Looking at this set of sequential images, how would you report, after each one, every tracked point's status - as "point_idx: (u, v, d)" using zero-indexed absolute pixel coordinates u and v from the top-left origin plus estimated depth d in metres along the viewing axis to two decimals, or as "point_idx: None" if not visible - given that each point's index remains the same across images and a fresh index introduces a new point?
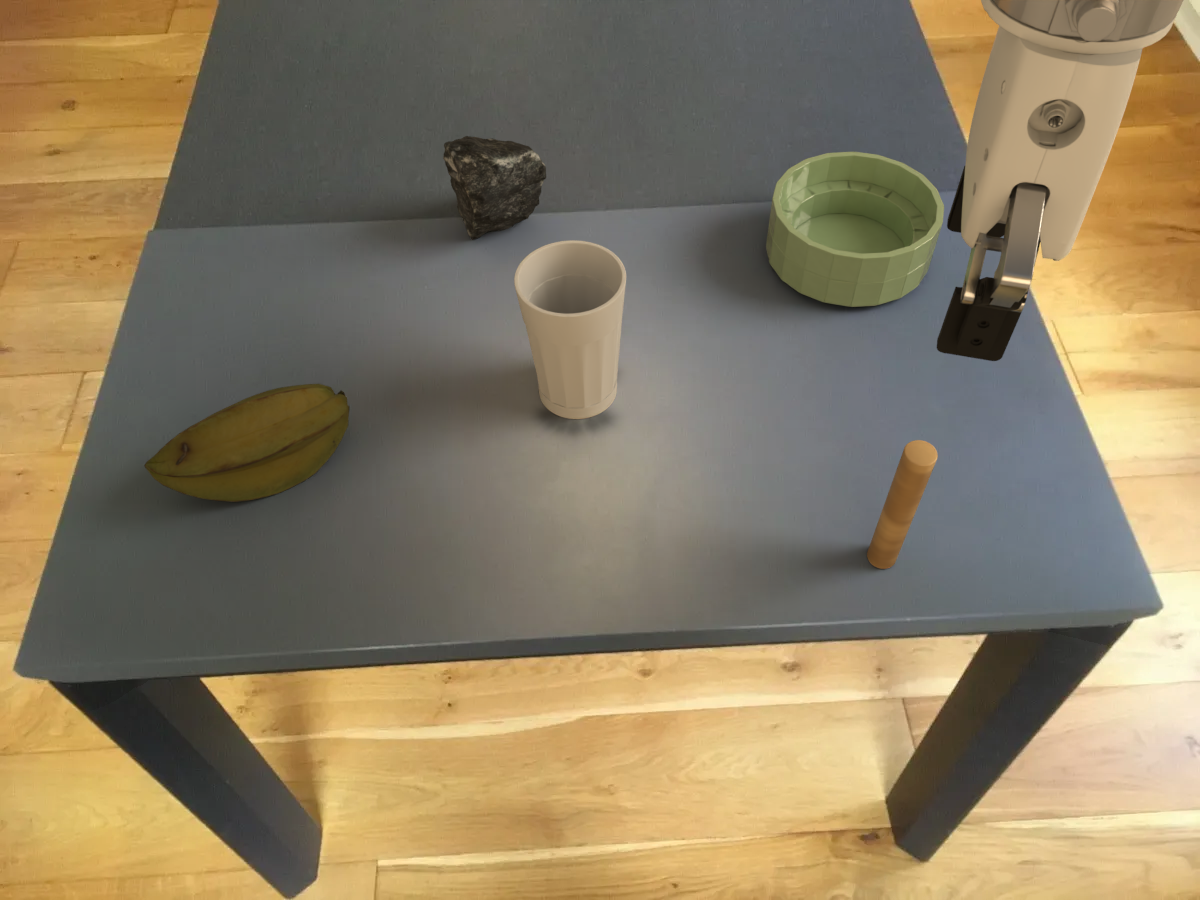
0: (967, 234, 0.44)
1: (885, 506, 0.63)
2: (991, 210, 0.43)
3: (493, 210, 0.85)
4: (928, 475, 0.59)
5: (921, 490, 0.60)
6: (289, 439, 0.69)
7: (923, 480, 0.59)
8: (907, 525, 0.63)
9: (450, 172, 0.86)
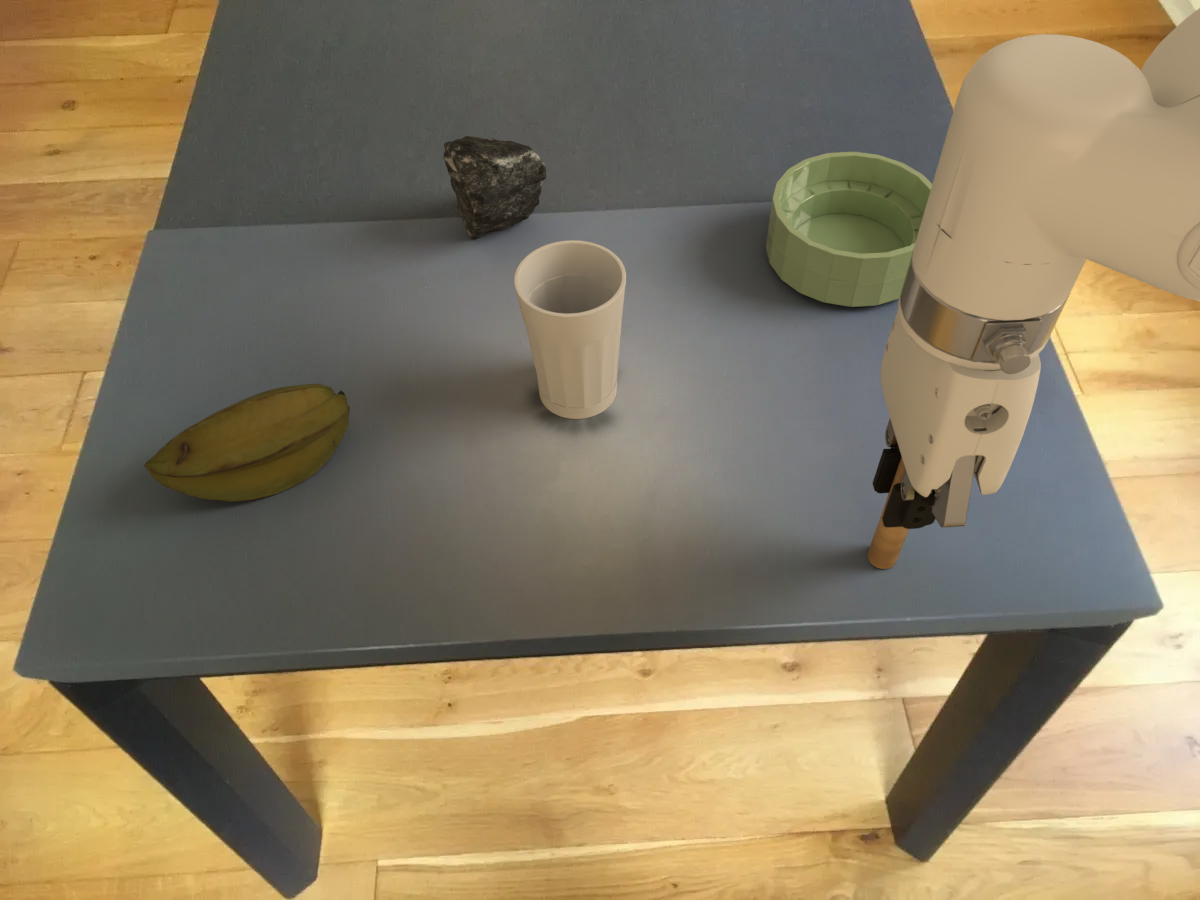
0: (920, 489, 0.53)
1: None
2: None
3: (493, 210, 0.85)
4: None
5: None
6: (289, 439, 0.69)
7: None
8: None
9: (450, 172, 0.86)
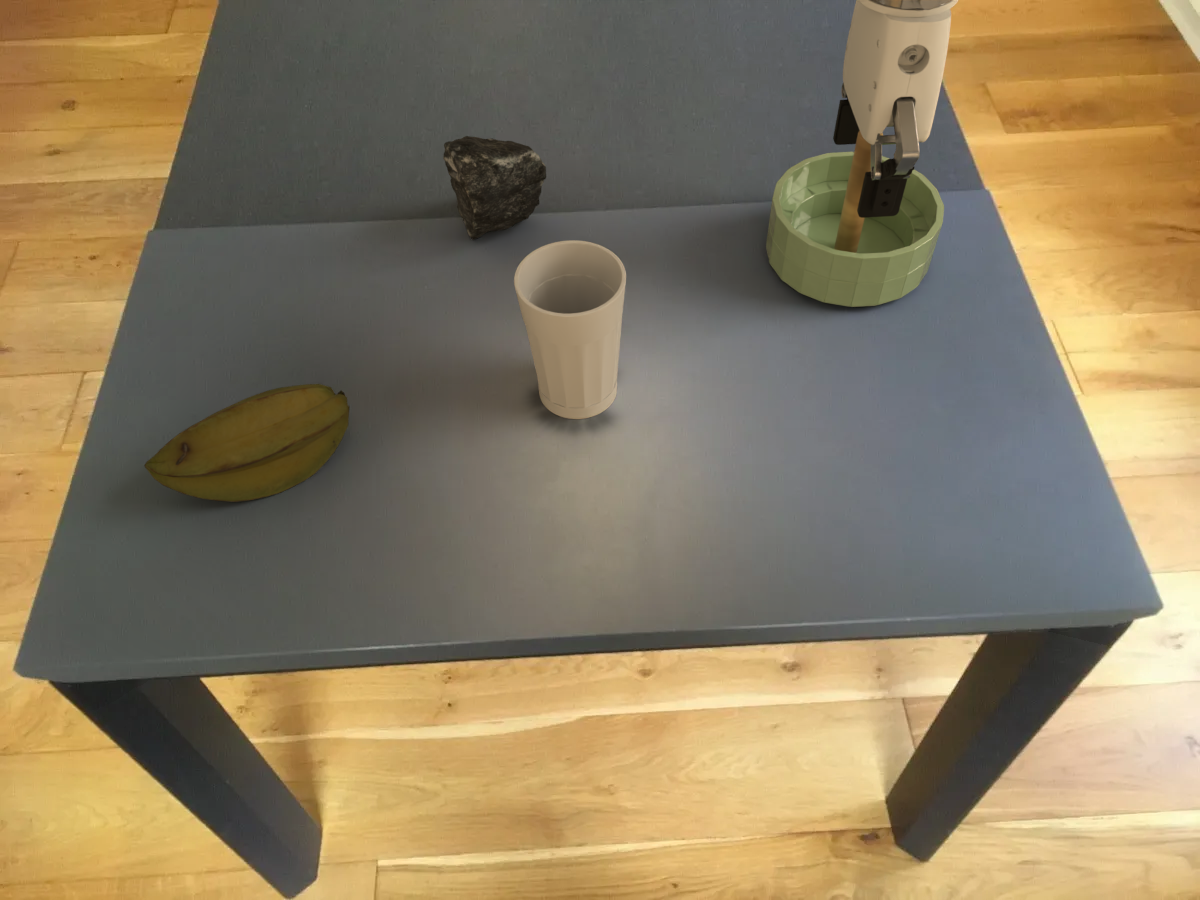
0: (869, 136, 0.72)
1: (846, 193, 0.82)
2: (883, 118, 0.70)
3: (493, 210, 0.85)
4: None
5: None
6: (289, 439, 0.69)
7: None
8: None
9: (450, 172, 0.86)
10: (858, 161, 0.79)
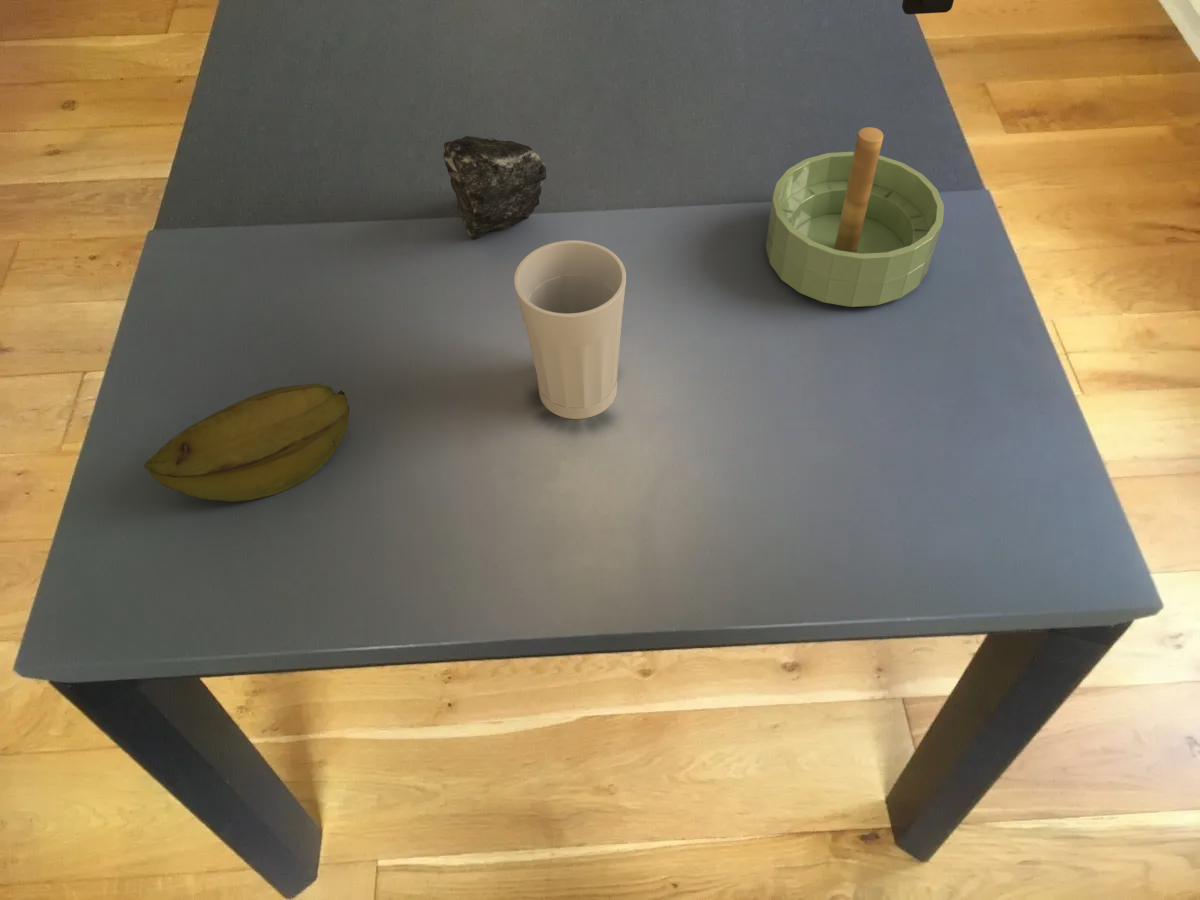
0: None
1: (846, 193, 0.82)
2: None
3: (493, 210, 0.85)
4: (876, 153, 0.78)
5: (871, 168, 0.79)
6: (289, 439, 0.69)
7: (873, 158, 0.78)
8: (863, 208, 0.82)
9: (450, 172, 0.86)
10: (858, 161, 0.79)
